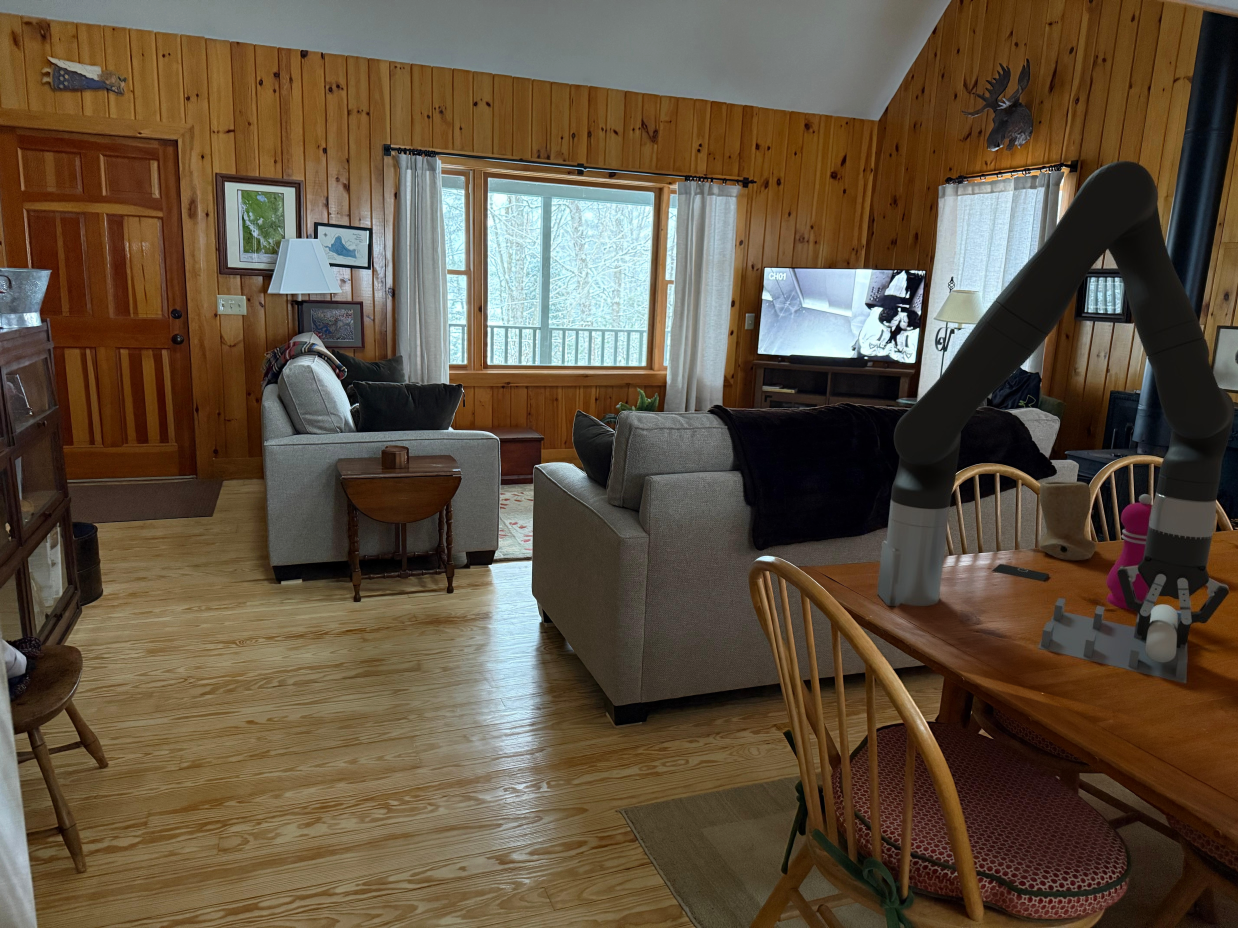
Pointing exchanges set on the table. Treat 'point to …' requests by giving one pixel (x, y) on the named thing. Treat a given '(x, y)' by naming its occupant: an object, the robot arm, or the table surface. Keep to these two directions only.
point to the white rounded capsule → (1162, 633)
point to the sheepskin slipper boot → (1066, 519)
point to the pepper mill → (1131, 550)
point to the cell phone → (1021, 572)
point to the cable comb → (1108, 643)
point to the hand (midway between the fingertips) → (1160, 641)
